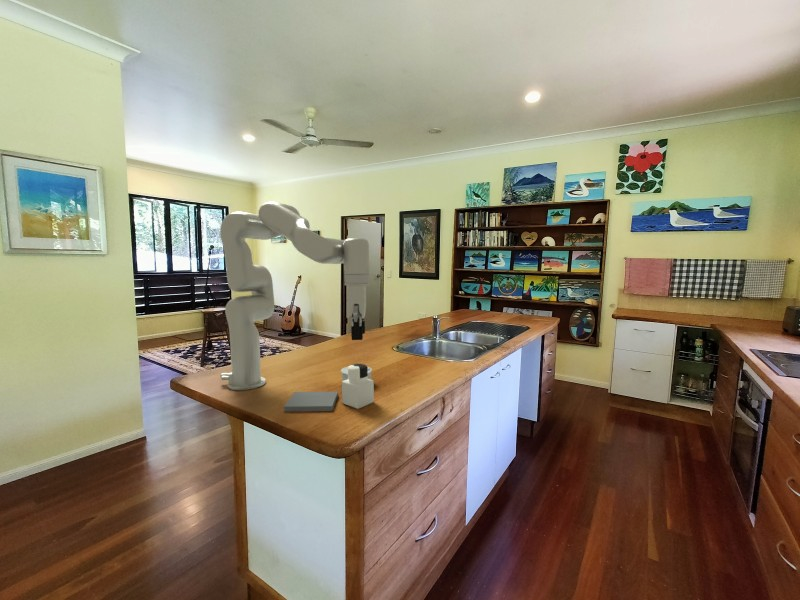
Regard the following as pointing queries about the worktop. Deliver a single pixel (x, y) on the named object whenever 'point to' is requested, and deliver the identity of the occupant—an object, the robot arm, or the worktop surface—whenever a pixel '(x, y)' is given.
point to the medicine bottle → (357, 387)
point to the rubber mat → (311, 401)
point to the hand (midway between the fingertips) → (358, 336)
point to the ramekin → (345, 373)
